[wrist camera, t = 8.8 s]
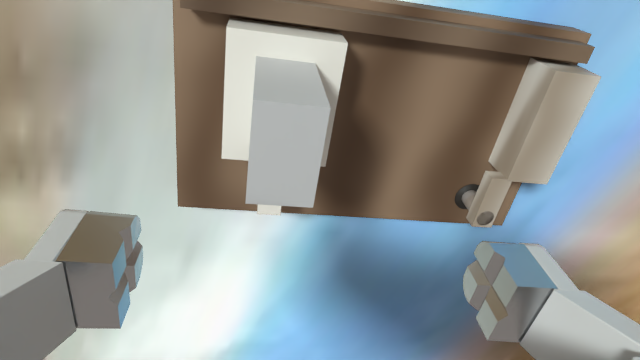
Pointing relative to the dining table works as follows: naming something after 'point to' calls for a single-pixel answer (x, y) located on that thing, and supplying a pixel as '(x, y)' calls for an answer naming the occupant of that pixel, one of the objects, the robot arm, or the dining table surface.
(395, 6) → the brown board with blocks
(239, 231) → the dining table surface
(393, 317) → the dining table surface
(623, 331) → the robot arm
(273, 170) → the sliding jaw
